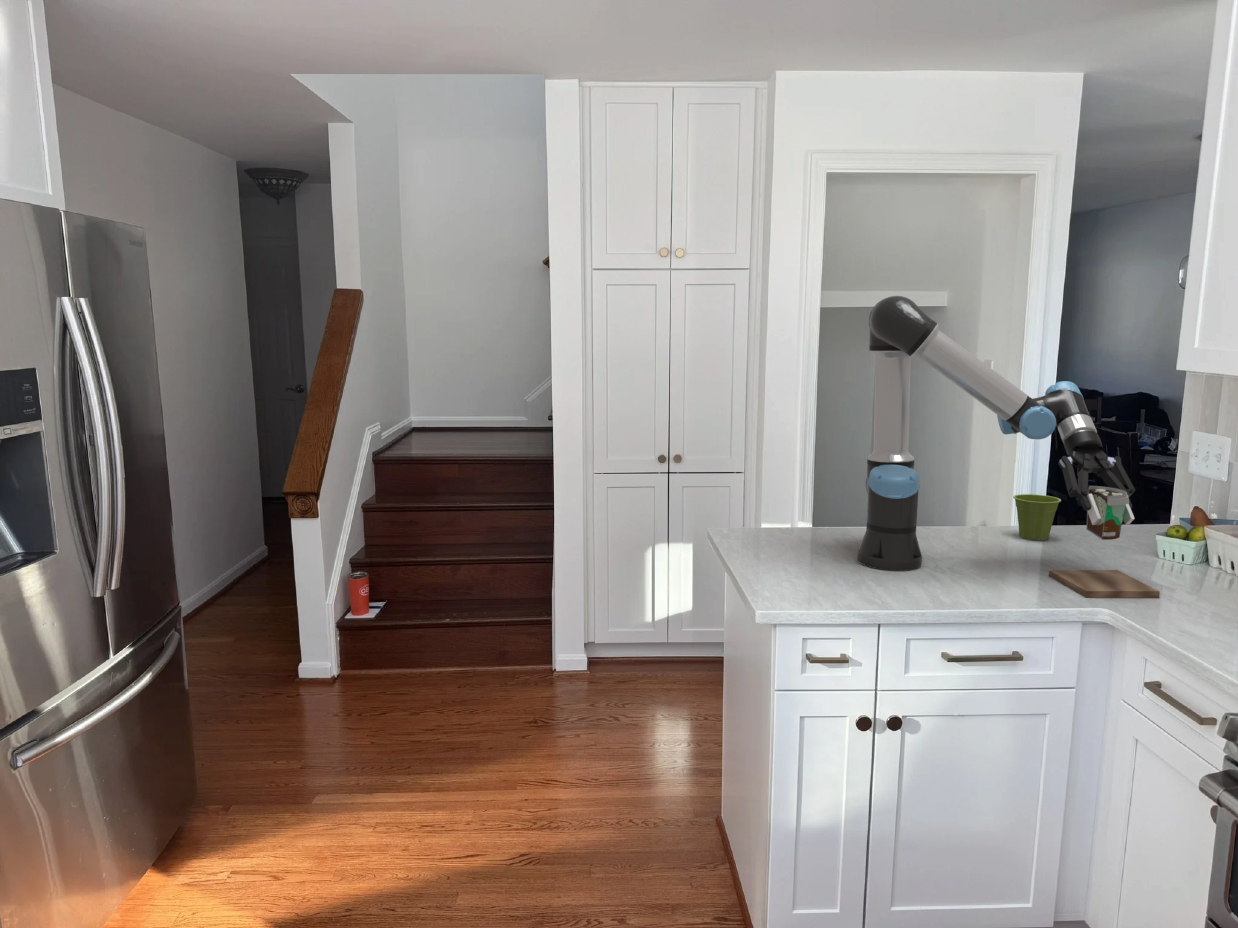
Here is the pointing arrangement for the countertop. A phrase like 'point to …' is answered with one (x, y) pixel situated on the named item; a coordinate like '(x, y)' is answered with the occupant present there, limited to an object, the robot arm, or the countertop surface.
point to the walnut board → (1103, 584)
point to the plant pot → (1035, 515)
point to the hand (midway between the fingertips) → (1113, 521)
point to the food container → (1108, 511)
